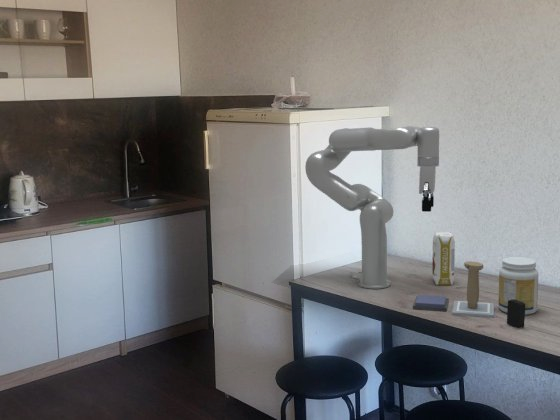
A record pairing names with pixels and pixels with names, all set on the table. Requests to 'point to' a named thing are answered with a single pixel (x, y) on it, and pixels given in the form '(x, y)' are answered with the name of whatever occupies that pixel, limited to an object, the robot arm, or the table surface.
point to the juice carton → (443, 258)
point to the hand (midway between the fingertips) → (427, 209)
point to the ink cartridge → (516, 313)
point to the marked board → (480, 311)
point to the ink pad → (431, 302)
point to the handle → (473, 283)
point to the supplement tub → (518, 283)
